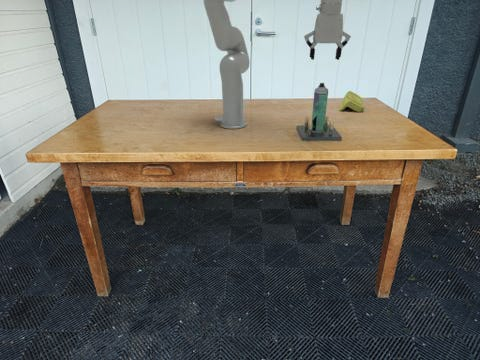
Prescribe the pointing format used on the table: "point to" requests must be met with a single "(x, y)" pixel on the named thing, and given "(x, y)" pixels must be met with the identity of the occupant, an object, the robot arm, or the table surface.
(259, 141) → the table surface
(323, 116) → the spray can
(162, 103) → the table surface
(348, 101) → the plastic component
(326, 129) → the post plate
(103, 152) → the table surface
